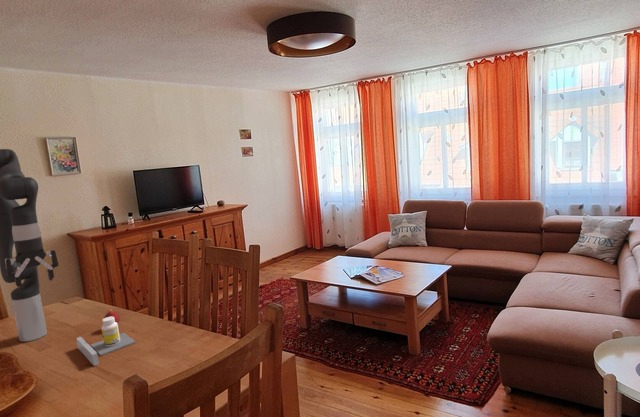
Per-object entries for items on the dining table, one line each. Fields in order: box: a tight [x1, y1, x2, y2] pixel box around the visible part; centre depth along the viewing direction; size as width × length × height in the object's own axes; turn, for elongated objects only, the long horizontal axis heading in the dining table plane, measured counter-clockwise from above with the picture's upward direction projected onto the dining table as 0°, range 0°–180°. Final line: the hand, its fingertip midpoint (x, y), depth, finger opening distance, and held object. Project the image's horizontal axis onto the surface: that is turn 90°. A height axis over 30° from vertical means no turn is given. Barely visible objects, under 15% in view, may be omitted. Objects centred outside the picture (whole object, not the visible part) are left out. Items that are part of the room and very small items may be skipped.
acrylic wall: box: [76, 336, 100, 367], centre depth 139 cm, size 20×2×4 cm, turn 45°
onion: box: [103, 309, 121, 325], centre depth 162 cm, size 6×6×8 cm
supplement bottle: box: [101, 317, 120, 346], centre depth 146 cm, size 5×5×10 cm
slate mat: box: [90, 332, 137, 356], centre depth 147 cm, size 12×12×1 cm
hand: (35, 283), depth 135 cm, fingers open, 8 cm apart
